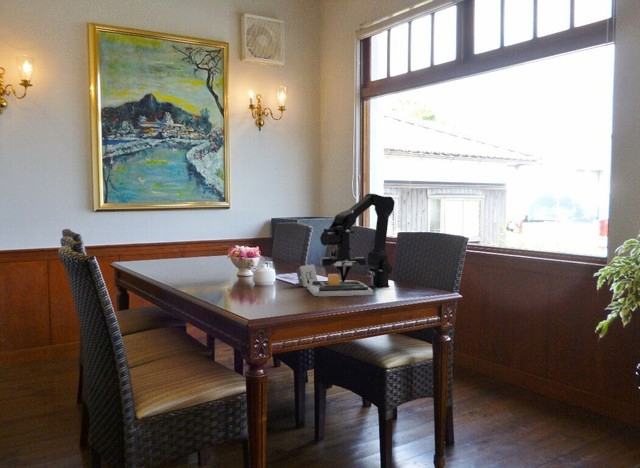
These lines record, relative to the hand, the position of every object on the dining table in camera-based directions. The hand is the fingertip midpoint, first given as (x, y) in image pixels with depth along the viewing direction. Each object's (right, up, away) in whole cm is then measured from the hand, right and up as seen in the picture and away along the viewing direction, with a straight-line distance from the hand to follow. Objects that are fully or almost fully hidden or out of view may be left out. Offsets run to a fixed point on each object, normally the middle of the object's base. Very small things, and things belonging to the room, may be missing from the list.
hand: (342, 281), depth 234 cm
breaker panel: (-1, -4, 0) cm, 4 cm away
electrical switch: (-15, -3, +15) cm, 22 cm away
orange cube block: (-4, -2, 0) cm, 4 cm away
